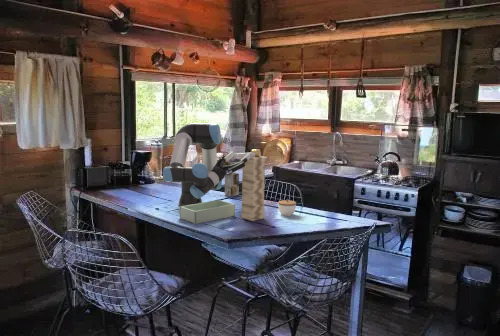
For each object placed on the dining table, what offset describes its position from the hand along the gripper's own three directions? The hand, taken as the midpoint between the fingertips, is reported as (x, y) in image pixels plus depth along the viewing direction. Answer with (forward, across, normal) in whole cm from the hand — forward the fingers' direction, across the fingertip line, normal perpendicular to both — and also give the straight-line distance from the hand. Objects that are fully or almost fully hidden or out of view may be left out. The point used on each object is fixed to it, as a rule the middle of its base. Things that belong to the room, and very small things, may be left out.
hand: (241, 154), depth 228 cm
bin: (-27, -18, -28) cm, 43 cm away
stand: (-10, 0, -38) cm, 39 cm away
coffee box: (+17, -58, -54) cm, 81 cm away
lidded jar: (+8, +7, -49) cm, 50 cm away
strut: (+3, 0, -4) cm, 5 cm away
